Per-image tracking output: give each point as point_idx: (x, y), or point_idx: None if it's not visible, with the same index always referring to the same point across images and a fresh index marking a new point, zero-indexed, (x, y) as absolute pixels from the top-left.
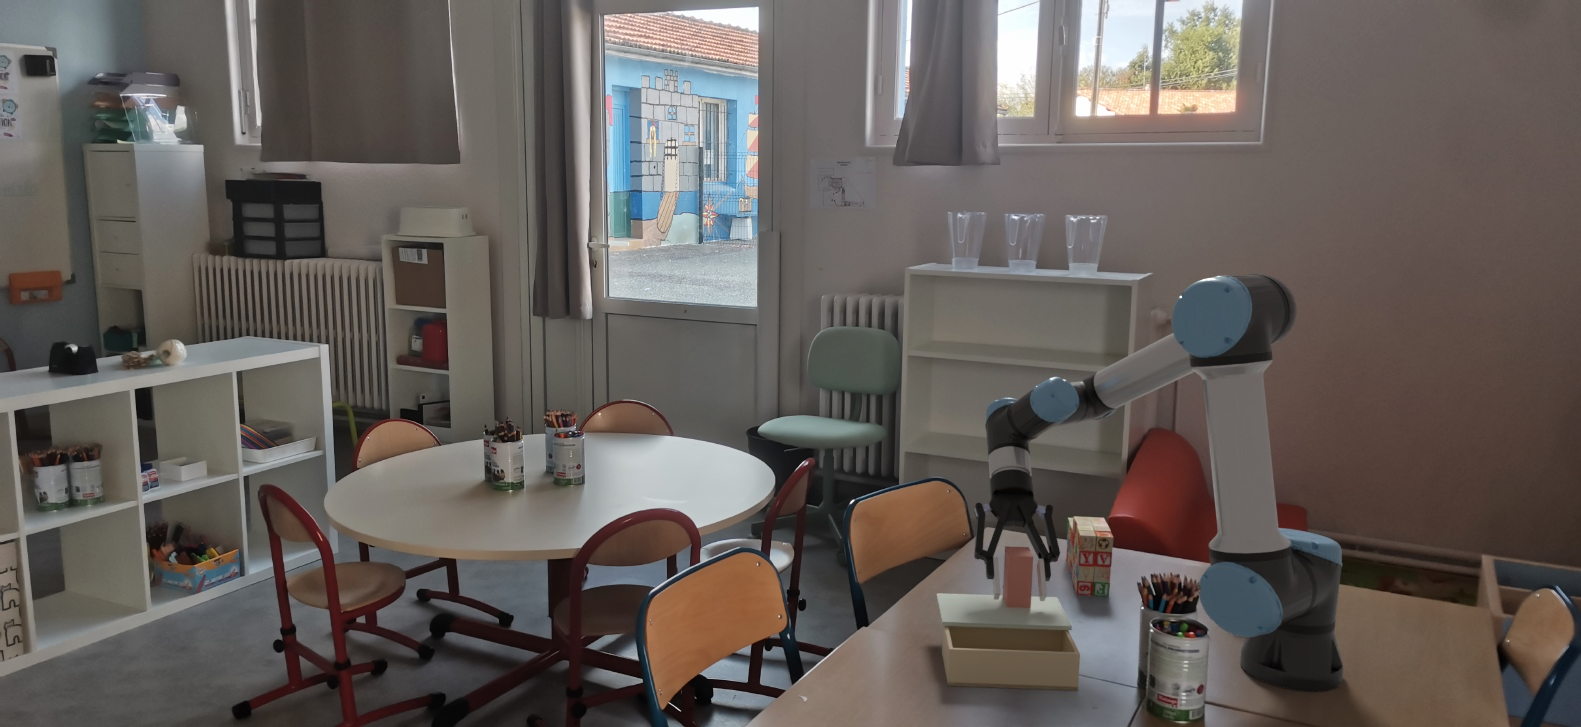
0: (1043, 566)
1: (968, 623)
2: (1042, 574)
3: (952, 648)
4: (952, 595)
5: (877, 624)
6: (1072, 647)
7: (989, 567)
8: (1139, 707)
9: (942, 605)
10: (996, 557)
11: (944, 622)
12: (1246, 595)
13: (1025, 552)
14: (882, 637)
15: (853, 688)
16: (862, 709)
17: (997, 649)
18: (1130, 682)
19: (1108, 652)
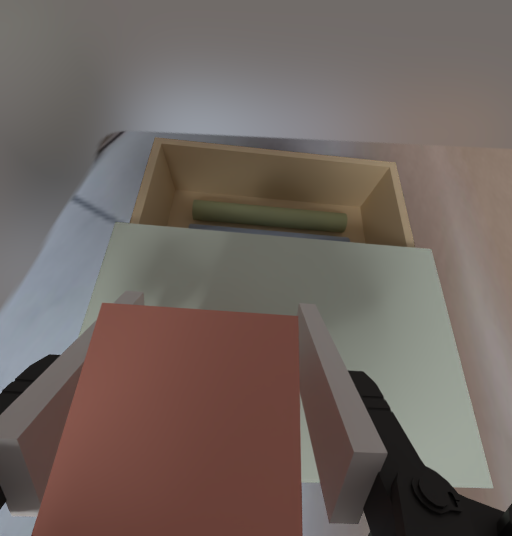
0: (40, 379)
1: (369, 245)
2: (87, 344)
3: (389, 164)
4: (434, 465)
5: None
6: (156, 165)
7: (376, 411)
8: (103, 146)
9: (449, 360)
10: (364, 450)
11: (424, 249)
12: None
13: (126, 420)
14: (506, 398)
15: (486, 202)
16: (458, 157)
17: (308, 159)
18: (68, 210)
19: (29, 332)
